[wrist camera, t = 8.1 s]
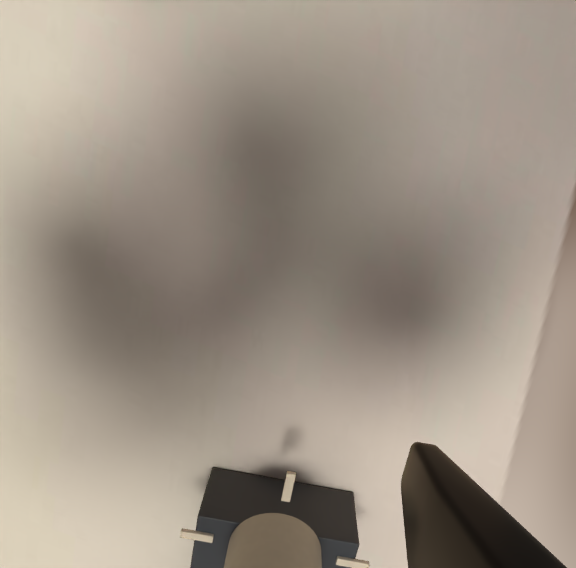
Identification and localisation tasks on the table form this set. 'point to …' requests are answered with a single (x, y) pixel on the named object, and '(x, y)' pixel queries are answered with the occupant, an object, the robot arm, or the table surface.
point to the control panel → (273, 499)
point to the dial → (273, 543)
